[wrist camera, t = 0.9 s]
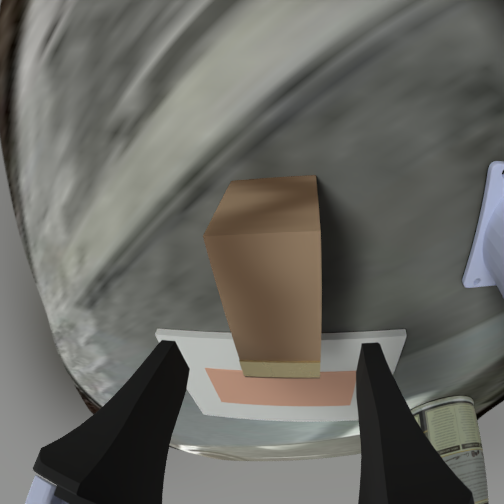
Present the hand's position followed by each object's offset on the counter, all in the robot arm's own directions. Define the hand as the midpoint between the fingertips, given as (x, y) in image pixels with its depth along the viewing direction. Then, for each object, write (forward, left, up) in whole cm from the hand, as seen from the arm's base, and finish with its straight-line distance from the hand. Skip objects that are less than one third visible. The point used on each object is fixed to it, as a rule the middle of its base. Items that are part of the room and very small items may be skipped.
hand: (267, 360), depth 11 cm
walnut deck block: (0, 0, -7) cm, 7 cm away
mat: (+1, +13, -7) cm, 15 cm away
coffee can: (-16, +23, -7) cm, 29 cm away
